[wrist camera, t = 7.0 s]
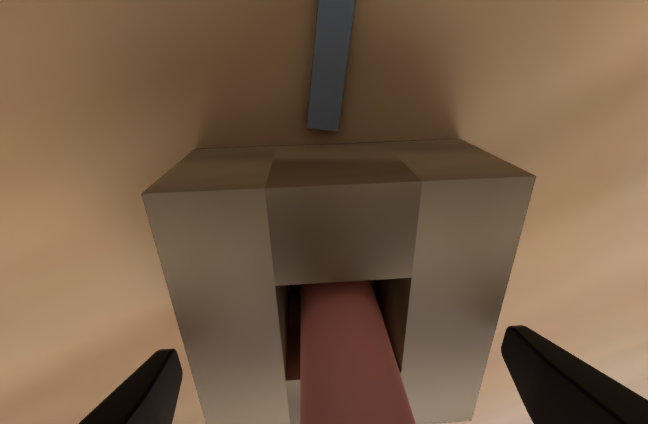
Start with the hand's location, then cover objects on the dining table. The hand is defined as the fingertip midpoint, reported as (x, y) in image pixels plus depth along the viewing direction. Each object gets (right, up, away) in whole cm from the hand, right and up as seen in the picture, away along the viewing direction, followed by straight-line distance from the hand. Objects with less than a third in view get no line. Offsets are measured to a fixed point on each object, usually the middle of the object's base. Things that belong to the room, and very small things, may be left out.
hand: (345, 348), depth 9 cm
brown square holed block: (0, +2, +4) cm, 4 cm away
